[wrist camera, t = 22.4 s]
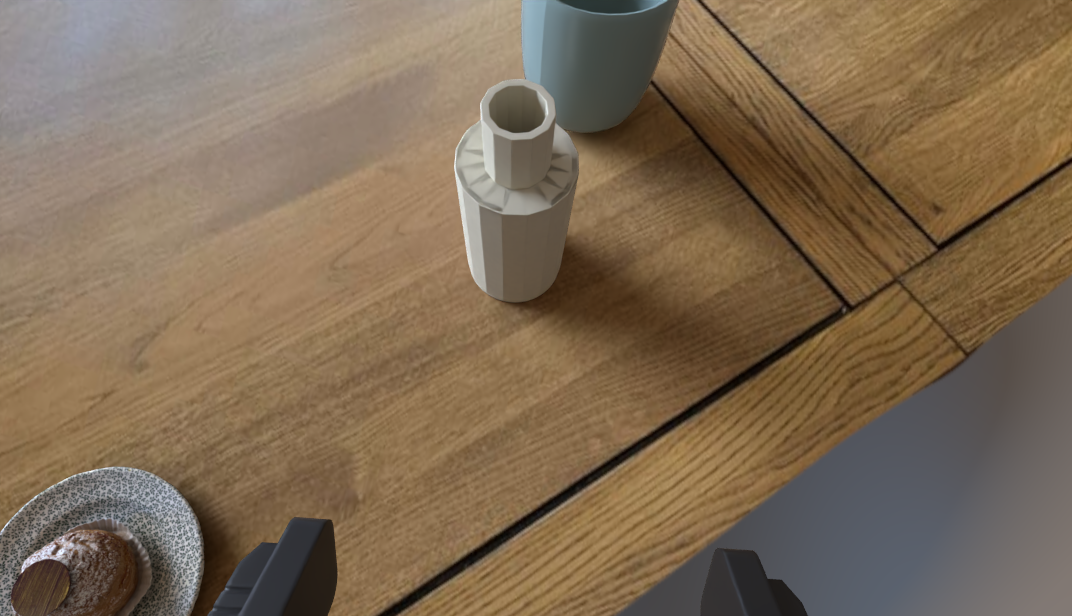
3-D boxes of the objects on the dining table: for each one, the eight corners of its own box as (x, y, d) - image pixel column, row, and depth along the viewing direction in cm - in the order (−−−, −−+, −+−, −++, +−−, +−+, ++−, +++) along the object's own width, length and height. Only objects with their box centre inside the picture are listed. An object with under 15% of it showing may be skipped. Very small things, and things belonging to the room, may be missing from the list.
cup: (518, 151, 45) (521, 15, 33) (519, 51, 48) (523, -106, 36) (646, 155, 45) (695, 21, 33) (638, 55, 49) (680, -98, 37)
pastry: (-36, 540, 33) (-116, 542, 29) (170, 431, 36) (125, 418, 32) (21, 752, 30) (-60, 789, 26) (244, 614, 33) (204, 627, 28)
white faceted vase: (573, 241, 42) (609, 82, 27) (537, 316, 40) (555, 189, 25) (493, 208, 43) (485, 36, 28) (453, 281, 41) (422, 136, 26)
